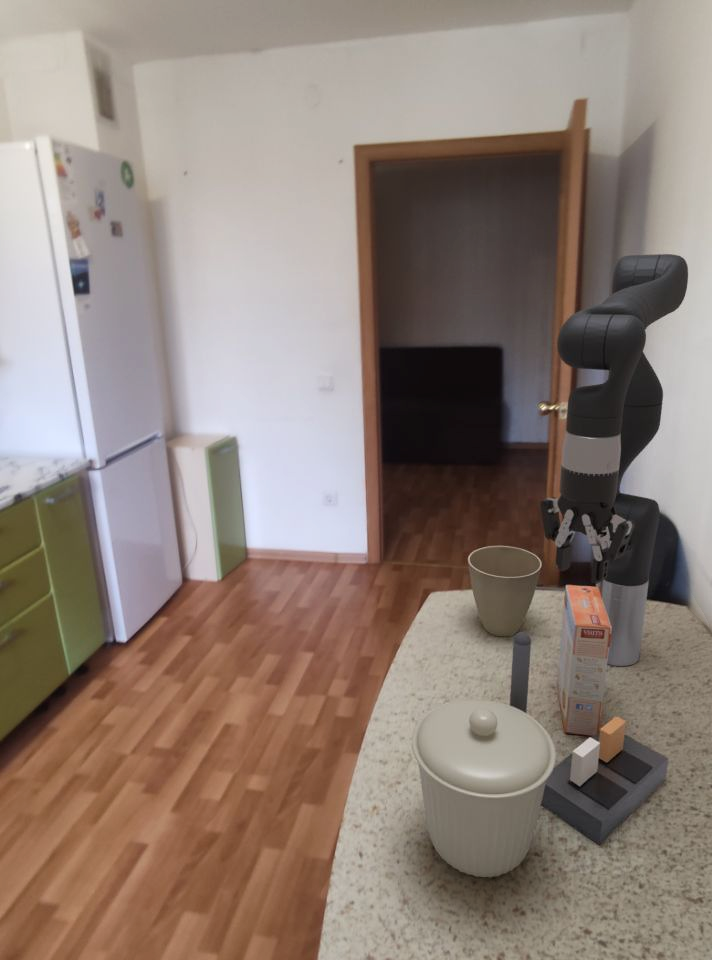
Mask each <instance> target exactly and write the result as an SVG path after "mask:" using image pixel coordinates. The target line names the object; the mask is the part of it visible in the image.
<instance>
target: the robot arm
mask: <svg viewBox="0 0 712 960" xmlns="http://www.w3.org/2000/svg"><path fill="white" fill-rule="evenodd" d="M613 271H614V272H613V277H612V284H611V295H609V296H608V297H607V298H606V299H605V300H604V301H603V302H602V303H601V304H597V305H592V306H590V307H588V308H584V309H582V310H581V309H580V310H579V311H577V312H575V313H573V314H572V315H570V316H569V317H568V319H566V321H565V322H564V323H563V325H562V326H561V328H560V330H559V333H558V336H557V341H556V345H557V346H556V348H557V353H558V355H559V357H560V359H561V360H562V362H563V363H564V364H566V365H567V366H568V367H571V368H574V369H582V370H596V371H597V370H598V371H599V370H600V371H608V377H607V379H606V381H605V382H602V383H599V384H593V385H592V384H591V385H585V386H580V387H576V388H574V389H573V390H571V392H570V393H569V394H568V395H569V396H568V401H567V413H566V423H565V424H566V425H565V434H564V439H563V445H562V450H561V452H562V453H561V465H560V466H561V467H560V478H559V479H560V480H559V494H560V496H559V498H556V497H555V496H551V497H548V498H545V499H543V500H541V501H540V505H539V506H540V510H541V512H540V513H541V519H542V525H543V531H544V538H545V539H547V540H550V541H551V540H552V542H554V545H555V546H556V552H555V554H556V555H555V564H556V566H557V569H558V571H561V572H565V571H568V570H569V568H570V567H571V561H572V551H573V544H570V543H571V542H572V541H573V538H574V536H575V534H576V532H577V533H578V532H579V533H582V535H585V536H587V540H588V544H589V545H590V546H591V548H592V552H593V556H594V558H593V559H592V569H591V577H590V581H591V583H593V584H595V587H598V588H599V590H600V593H601V597H602V600H603V603H604V606H605V609H606V612H607V615H608V618H609V621H610V624H611V627H612V629H611V637H610V646H609V653H608V661H607V665H611V666H617V667H618V666H619V667H626V666H632V665H634V664H636V663H637V662H638V661H639V659H640V653H641V647H642V646H641V645H642V638H643V631H644V622H645V615H646V604H647V598H648V589H649V583H650V582H649V581H650V580H649V579H650V572H651V567H652V562H653V556H654V548H655V543H656V537H657V534H658V527H659V522H660V506H659V504H658V501H656V500H655V499H652V498H649V497H644V496H639V495H634V494H629V493H622V492H621V489H620V488H621V483H622V479H623V477H624V475H625V472H626V471H627V470H628V469H629V467H630V466H631V464H632V462H633V461H634V460H635V459H636V458H637V457H638V456H639V455H640V454H641V452H643V451H644V449H646V447H647V446H648V445H649V444H650V442H652V440H653V439H654V438H655V436H656V434H657V433H658V432H659V429H660V426H661V425H660V424H661V418H662V410H663V400H664V390H663V387H662V384H661V381H660V379H659V377H658V376H657V373H656V371H655V370H654V368H653V366H652V365H651V362H649V359H648V358H647V357H646V354H645V352H644V349H645V346H646V342H647V334H646V330H647V329H648V327H649V326H650V325H652V324H653V323H655V322H656V321H659V320H661V319H662V318H664V317H665V316H668V315H669V314H671V313H673V312H675V311H676V310H677V309H678V308H679V307H680V306H681V305H682V303H683V301H684V299H685V297H686V294H687V288H688V284H689V282H688V281H689V280H688V279H689V268H688V264H687V261H686V259H685V258H683V256H680V255H678V254H669V253H665V254H664V253H663V254H662V253H661V254H660V253H659V254H658V253H657V254H641V255H640V254H635V255H634V254H633V255H631V254H630V255H625V256H622V257H620V259H619V260H618V261H617V263H616V264H615V266H614V270H613ZM559 512H560V513H561V516H562V517H563V519H562V522H561V520H560V514H559ZM628 546H631V549H630V550H629V549H628V550H626V549H627V547H628Z"/></svg>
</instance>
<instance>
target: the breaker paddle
mask: <svg viewBox="0 0 712 960" xmlns="http://www.w3.org/2000/svg"><path fill="white" fill-rule="evenodd" d="M626 726H627V721H626V720H625V719H623V718H622V717H618V716H617V715H616V716H614V717H613V718H612V719H611V720H610V721H609V722H607V723H606V724H605V725H603V726H602V727H600V728H599V731H600V735H599V743H600V750H599V758H600V759H601V760H603V761H605V762H606V763H607V762H608V761H610V760H611V759H612V758H613V757H614V756H615V755H617V754H618V753H619V752H620V751H621V750H622V749H623V743H624V735H626V728H627V727H626Z"/></svg>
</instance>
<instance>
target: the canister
mask: <svg viewBox="0 0 712 960" xmlns="http://www.w3.org/2000/svg"><path fill="white" fill-rule="evenodd" d="M411 748H412V753H413V755H414V759H415V761H417V764H418V768H419V769H418V771H419V777H420V785H421V786H420V787H421V795H422V801H423V808H424V809H423V810H424V814H425V820H426V821H425V822H426V827H427V832H428V835H429V837H430V841H431V844H432V845H433V846H434V849H435V851H436V852H437V854H439V855H440V857H441V859H442V860H444V861H445V862H446V864H447V865H450V866H451V867H452V868H453V869H456V870H458V871H459V872H460V873H464V874H466V875H468V876H474V877H476V878H477V877H479V878H480V877H481V878H487V877H488V878H493V877H500V876H501V875H506V874H508V872H511V871H513V870H514V869H515V868H517V867H518V866H520V864H521V862H522V861H524V859H525V858H526V857H527V853H528V852H529V850H530V849H531V848H530V847H531V844H532V841H533V837H534V834H535V830H536V826H537V823H538V819H539V816H540V815H539V814H540V810H541V806H542V805H541V802H542V797H543V793H544V789H545V784H546V780H547V779H548V778H549V776H550V775H551V773H552V771H553V769H554V767H555V765H556V758H557V755H556V749H555V748H556V747H555V743H554V741H553V739H552V737H551V736H550V734H549V732H548V731H547V730H546V728H544V726H542V724H540V722H539V721H537V720H536V719H535V718H534V717H533V716H532V715H530V714H529V713H527V712H526V713H525V712H523V711H521V710H519V709H517V708H515V707H513V706H510V704H506V703H503V702H501V701H500V702H499V701H495V700H490V699H483V698H482V699H481V698H463V699H457V700H451V701H447V702H445V703H442V704H438V705H437V706H435V707H433V708H431V709H429V710H428V711H427V712H426V713H425V714H424V715H423V716H422V717H421V718H420V719H419V720H418V721H417V723H416V724H415V726H414V728H413V732H412V735H411Z"/></svg>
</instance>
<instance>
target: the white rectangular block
mask: <svg viewBox="0 0 712 960" xmlns="http://www.w3.org/2000/svg"><path fill="white" fill-rule="evenodd" d="M591 737H592V736H589V737H588V738H587V739H586V740H585V741H584V742H582V743H581V744H580V745H578V747H576V748H575V749H574V750H572V752H571V753H572V763H571V773H570V780H571V781H572V782H574V783H575V784H577V785H578V786H581V785H582V784H583V783H584V782H585V781H587V780H588V779H589V778H590V777H591V776H592V775H594V774H595V773H596V772H597V768H598V759H599V750H600V743H599V742H598V741H596V740H594V739H593V738H591Z"/></svg>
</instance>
